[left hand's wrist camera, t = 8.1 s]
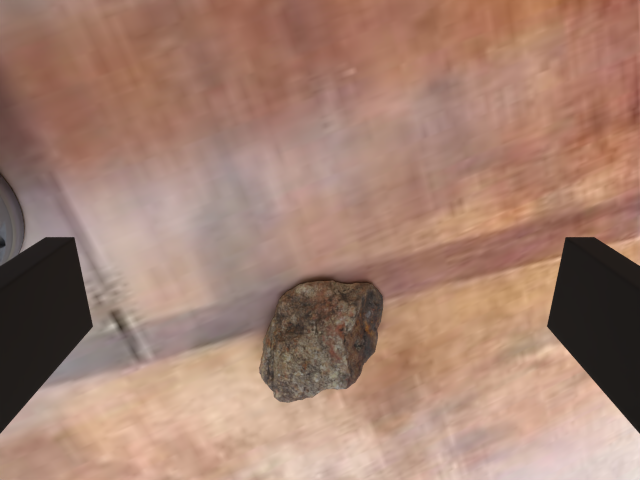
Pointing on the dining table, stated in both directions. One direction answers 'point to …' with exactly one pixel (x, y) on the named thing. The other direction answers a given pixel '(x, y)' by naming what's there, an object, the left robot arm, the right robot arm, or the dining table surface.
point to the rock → (320, 338)
